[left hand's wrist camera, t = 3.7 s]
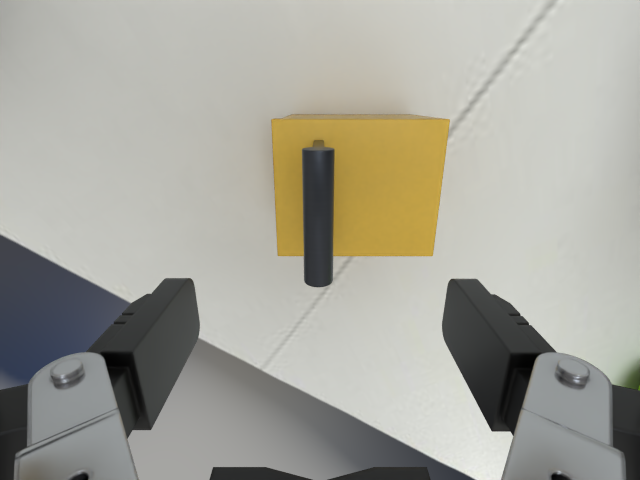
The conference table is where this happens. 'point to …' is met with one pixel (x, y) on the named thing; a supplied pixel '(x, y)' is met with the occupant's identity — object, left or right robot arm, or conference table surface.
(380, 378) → the conference table surface
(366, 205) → the lid
